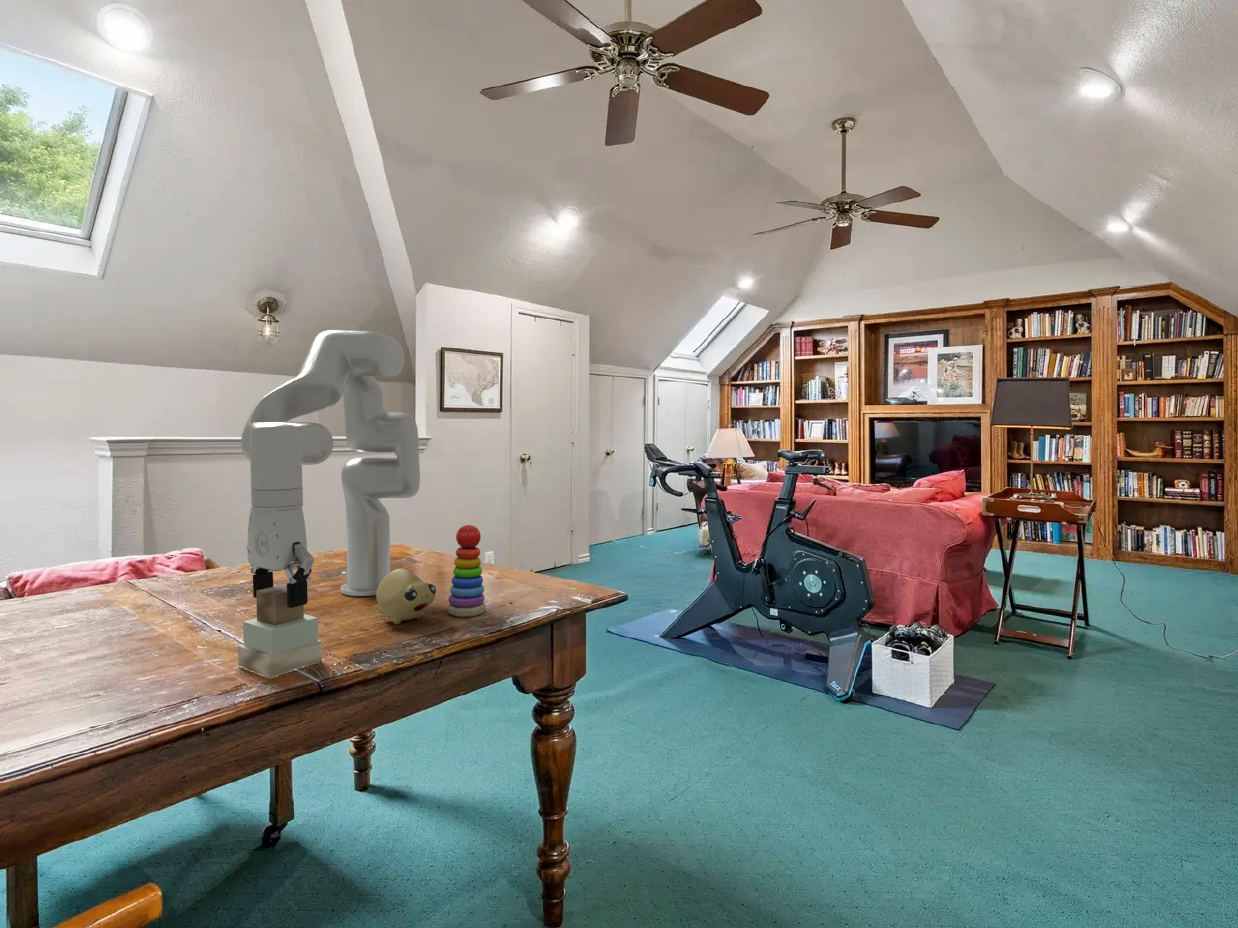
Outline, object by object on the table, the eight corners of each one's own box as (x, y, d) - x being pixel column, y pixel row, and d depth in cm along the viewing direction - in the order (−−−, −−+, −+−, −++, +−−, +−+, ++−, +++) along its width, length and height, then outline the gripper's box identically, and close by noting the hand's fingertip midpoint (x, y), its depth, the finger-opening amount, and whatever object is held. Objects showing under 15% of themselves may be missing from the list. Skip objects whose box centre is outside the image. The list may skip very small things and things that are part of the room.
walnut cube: (256, 620, 107) (256, 590, 107) (285, 612, 112) (284, 584, 111) (275, 625, 105) (275, 595, 105) (303, 617, 109) (303, 588, 109)
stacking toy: (476, 619, 134) (476, 529, 133) (440, 616, 136) (440, 527, 134) (491, 608, 142) (491, 523, 140) (457, 605, 143) (457, 521, 142)
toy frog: (404, 633, 125) (404, 578, 124) (367, 621, 132) (366, 569, 131) (445, 620, 133) (444, 569, 132) (407, 610, 140) (407, 561, 139)
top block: (243, 645, 107) (243, 621, 107) (289, 632, 114) (289, 609, 114) (272, 655, 103) (271, 630, 103) (318, 640, 110) (317, 617, 110)
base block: (238, 669, 107) (237, 645, 107) (290, 653, 115) (289, 630, 115) (270, 681, 103) (269, 656, 102) (321, 663, 110) (321, 640, 110)
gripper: (225, 497, 108) (228, 597, 110) (286, 506, 99) (289, 615, 101) (269, 492, 115) (272, 588, 116) (330, 500, 106) (332, 604, 107)
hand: (280, 600), depth 108 cm, fingers open, 9 cm apart
